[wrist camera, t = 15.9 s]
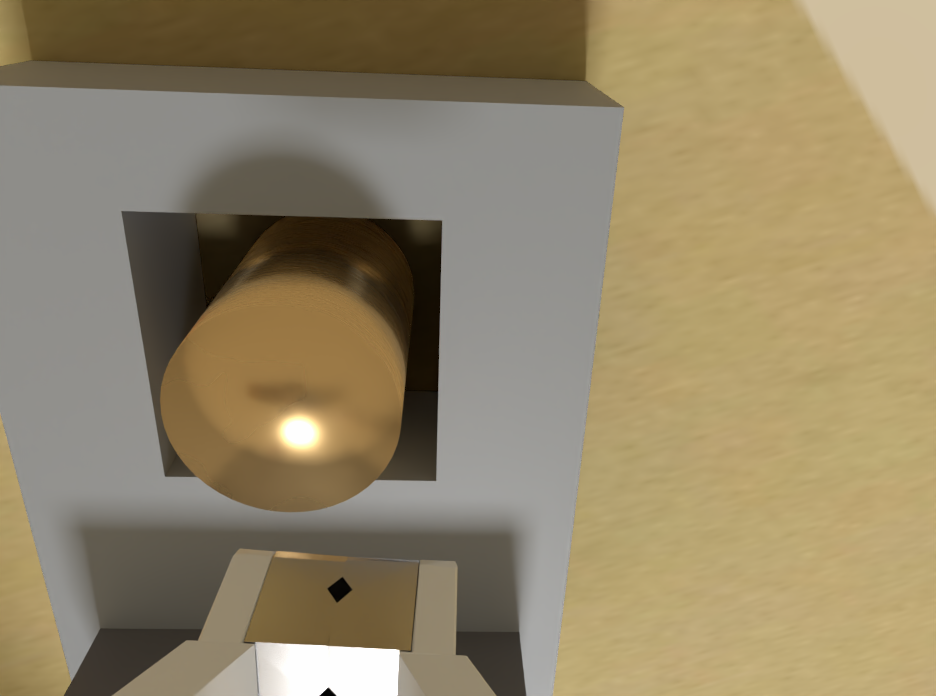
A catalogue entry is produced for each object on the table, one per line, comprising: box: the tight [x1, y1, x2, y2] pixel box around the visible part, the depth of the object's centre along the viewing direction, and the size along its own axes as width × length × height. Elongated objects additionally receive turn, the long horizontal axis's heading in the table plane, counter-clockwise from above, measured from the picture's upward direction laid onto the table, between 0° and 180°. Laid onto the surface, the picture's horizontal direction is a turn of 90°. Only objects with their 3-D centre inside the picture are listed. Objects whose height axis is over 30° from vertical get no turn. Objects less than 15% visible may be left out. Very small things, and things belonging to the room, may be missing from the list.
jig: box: [0, 61, 624, 696], centre depth 17 cm, size 12×16×7 cm
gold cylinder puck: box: [160, 216, 414, 512], centre depth 16 cm, size 4×4×6 cm
